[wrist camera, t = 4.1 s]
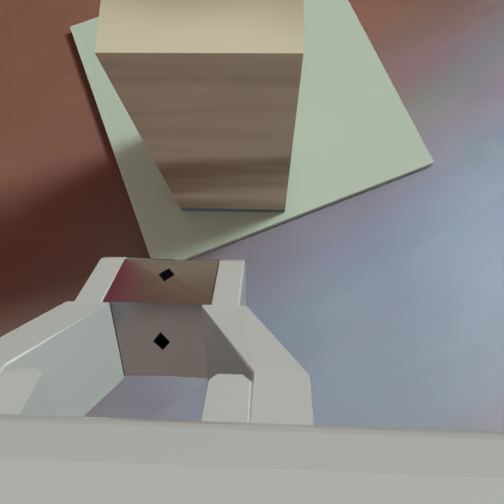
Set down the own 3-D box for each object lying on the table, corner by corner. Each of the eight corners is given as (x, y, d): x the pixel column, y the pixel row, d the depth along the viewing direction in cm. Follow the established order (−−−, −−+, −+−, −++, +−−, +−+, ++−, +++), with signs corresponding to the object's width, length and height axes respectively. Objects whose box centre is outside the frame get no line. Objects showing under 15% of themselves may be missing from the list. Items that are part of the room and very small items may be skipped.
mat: (156, 271, 25) (154, 270, 24) (72, 31, 28) (69, 26, 28) (431, 165, 26) (434, 162, 25) (315, -54, 29) (316, -60, 29)
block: (284, 212, 25) (303, 53, 12) (181, 210, 25) (94, 52, 12) (285, 118, 26) (303, -114, 13) (187, 117, 26) (114, -112, 14)
